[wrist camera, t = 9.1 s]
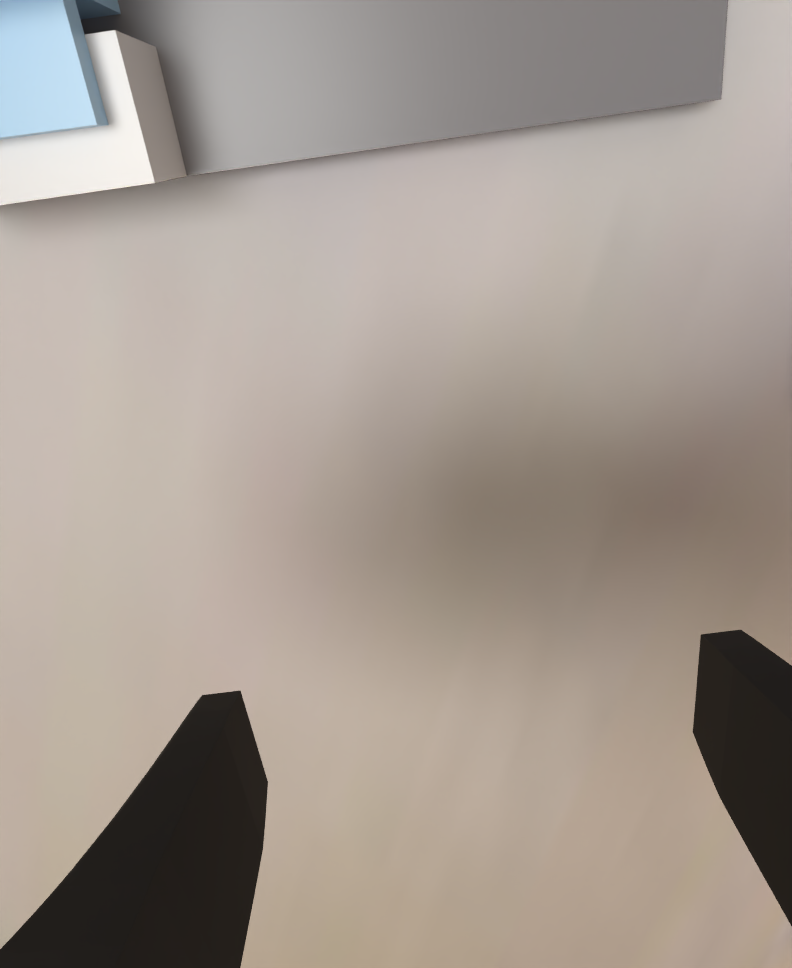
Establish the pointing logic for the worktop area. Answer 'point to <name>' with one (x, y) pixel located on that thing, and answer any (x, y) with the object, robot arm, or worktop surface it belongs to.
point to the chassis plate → (356, 80)
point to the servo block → (48, 67)
